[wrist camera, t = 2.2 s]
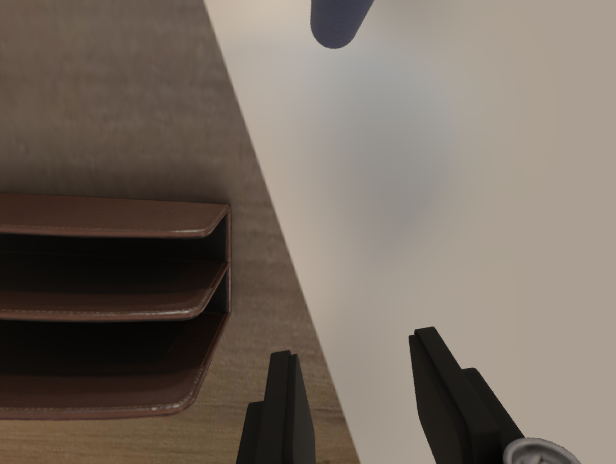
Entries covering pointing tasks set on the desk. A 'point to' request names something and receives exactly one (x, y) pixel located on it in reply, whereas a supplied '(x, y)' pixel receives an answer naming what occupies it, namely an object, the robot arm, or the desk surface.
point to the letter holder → (109, 305)
